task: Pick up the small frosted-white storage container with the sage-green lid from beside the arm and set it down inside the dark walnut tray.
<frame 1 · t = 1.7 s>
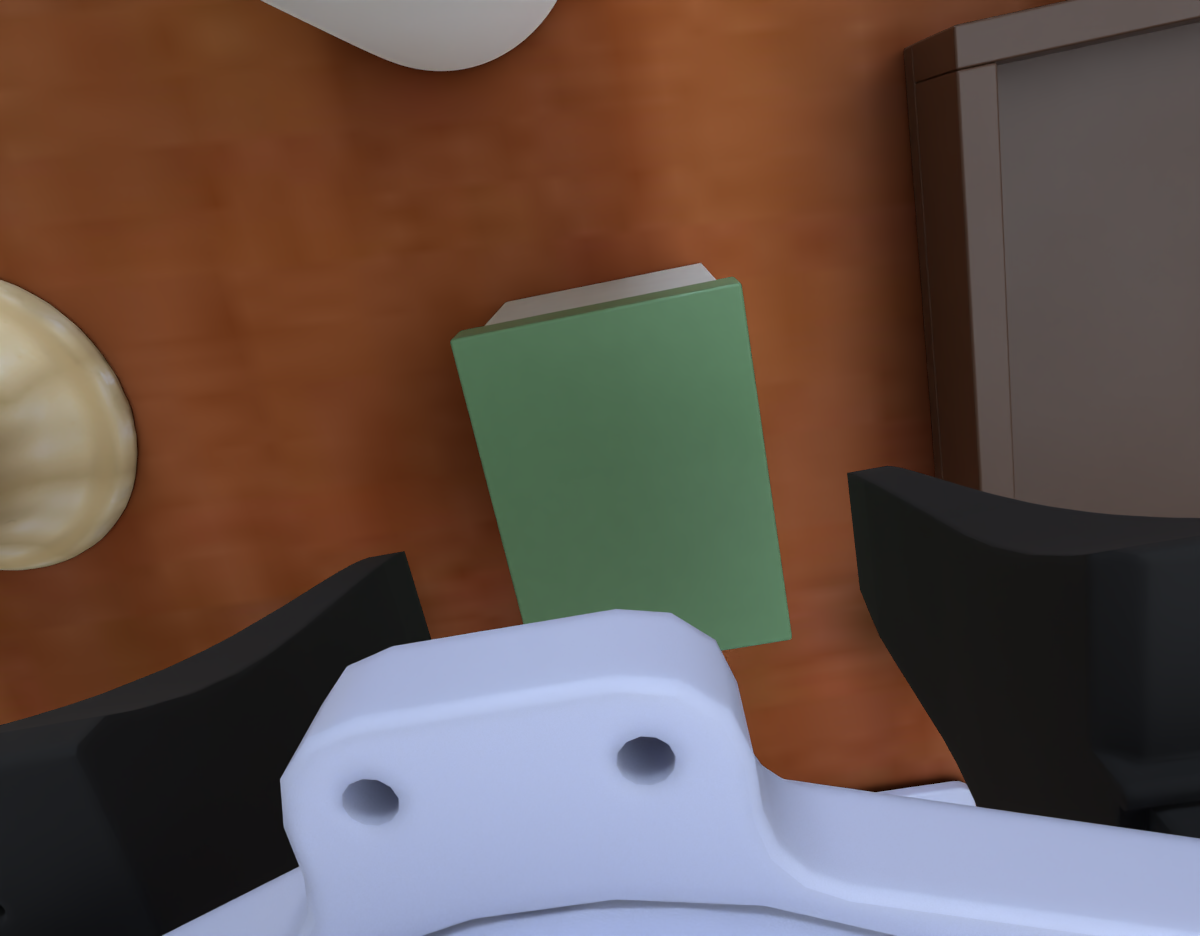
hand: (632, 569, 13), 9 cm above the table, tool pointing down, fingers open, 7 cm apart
container: (628, 415, 22), on the table
tray: (1161, 355, 21), on the table
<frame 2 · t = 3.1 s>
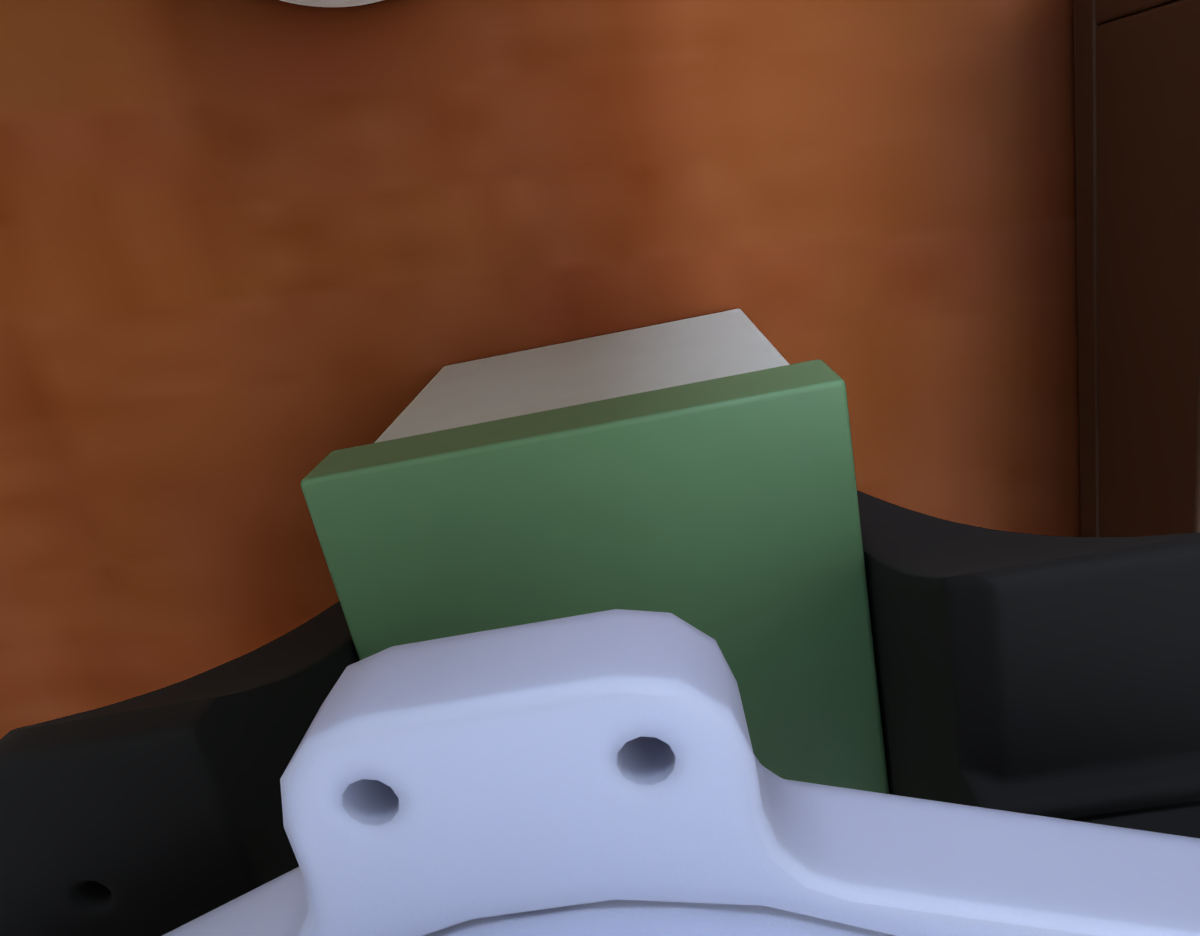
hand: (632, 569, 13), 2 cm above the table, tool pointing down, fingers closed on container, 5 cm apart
container: (628, 529, 15), on the table, touching gripper
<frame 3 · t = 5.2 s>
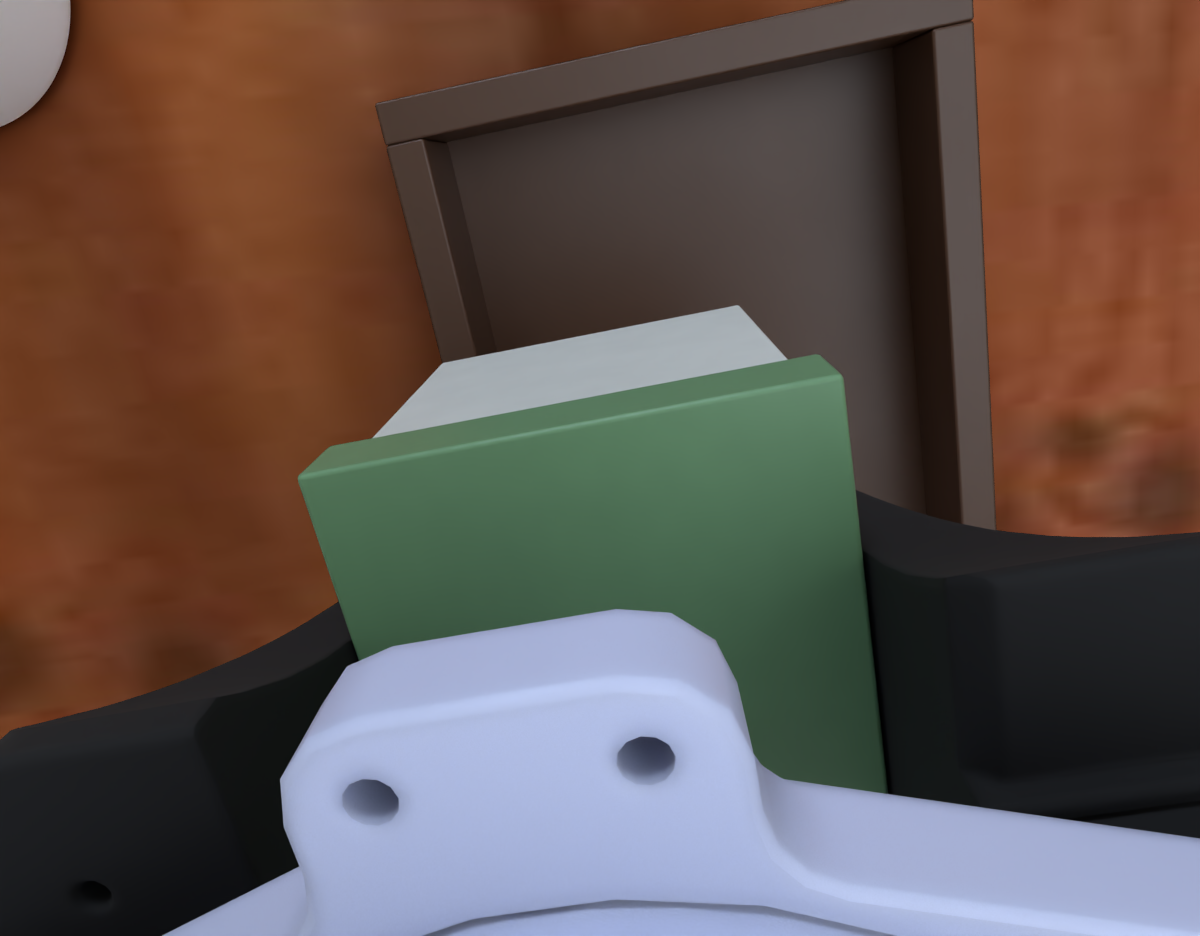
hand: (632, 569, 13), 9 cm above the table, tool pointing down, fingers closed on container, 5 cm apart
container: (627, 526, 15), point 7 cm above the table, touching gripper
tray: (712, 408, 22), on the table
when the fingers open (2 cm above the table, at t = 7.5 s): container stays where it is, resting on tray.
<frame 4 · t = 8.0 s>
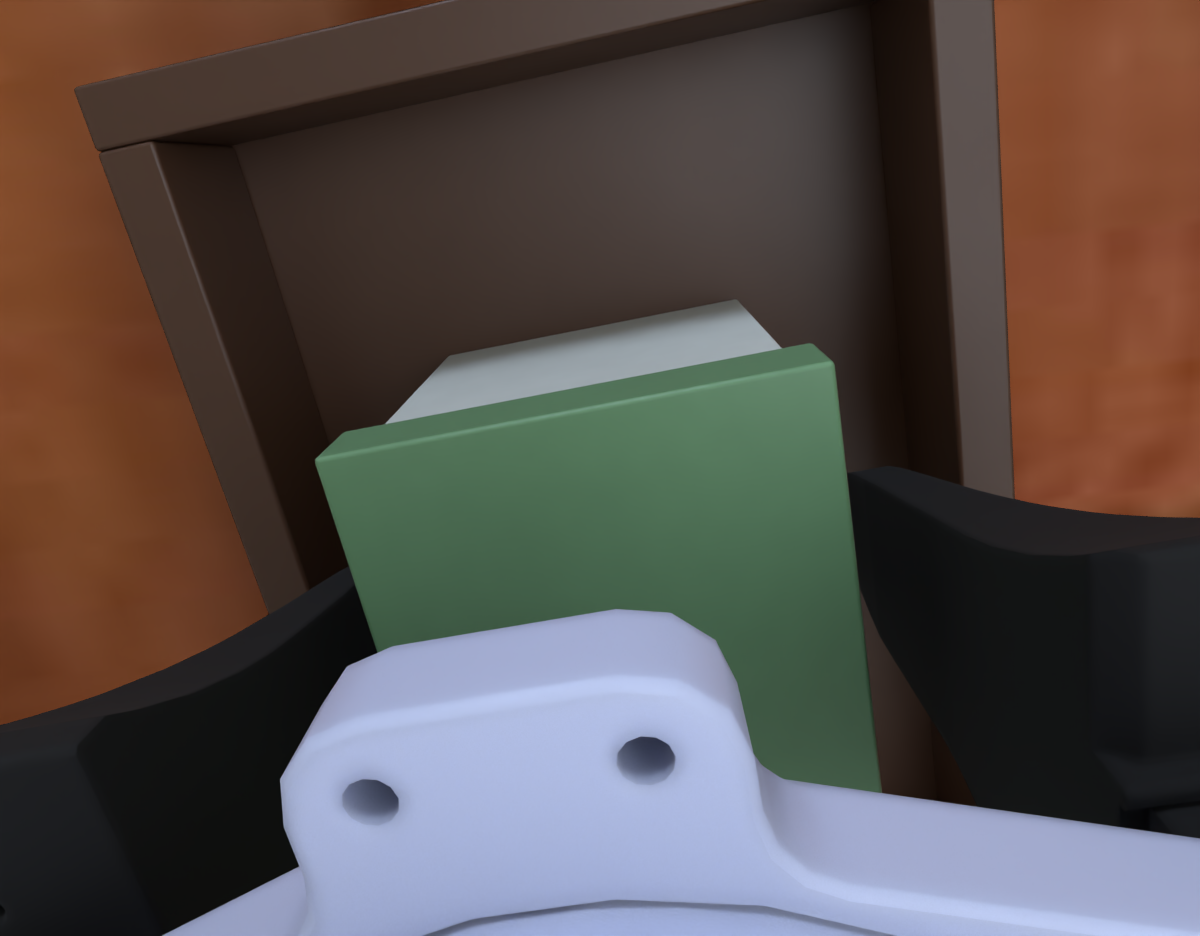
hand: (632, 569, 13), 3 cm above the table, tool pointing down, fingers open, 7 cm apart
container: (628, 515, 15), point 1 cm above the table, touching tray
tray: (630, 506, 16), on the table
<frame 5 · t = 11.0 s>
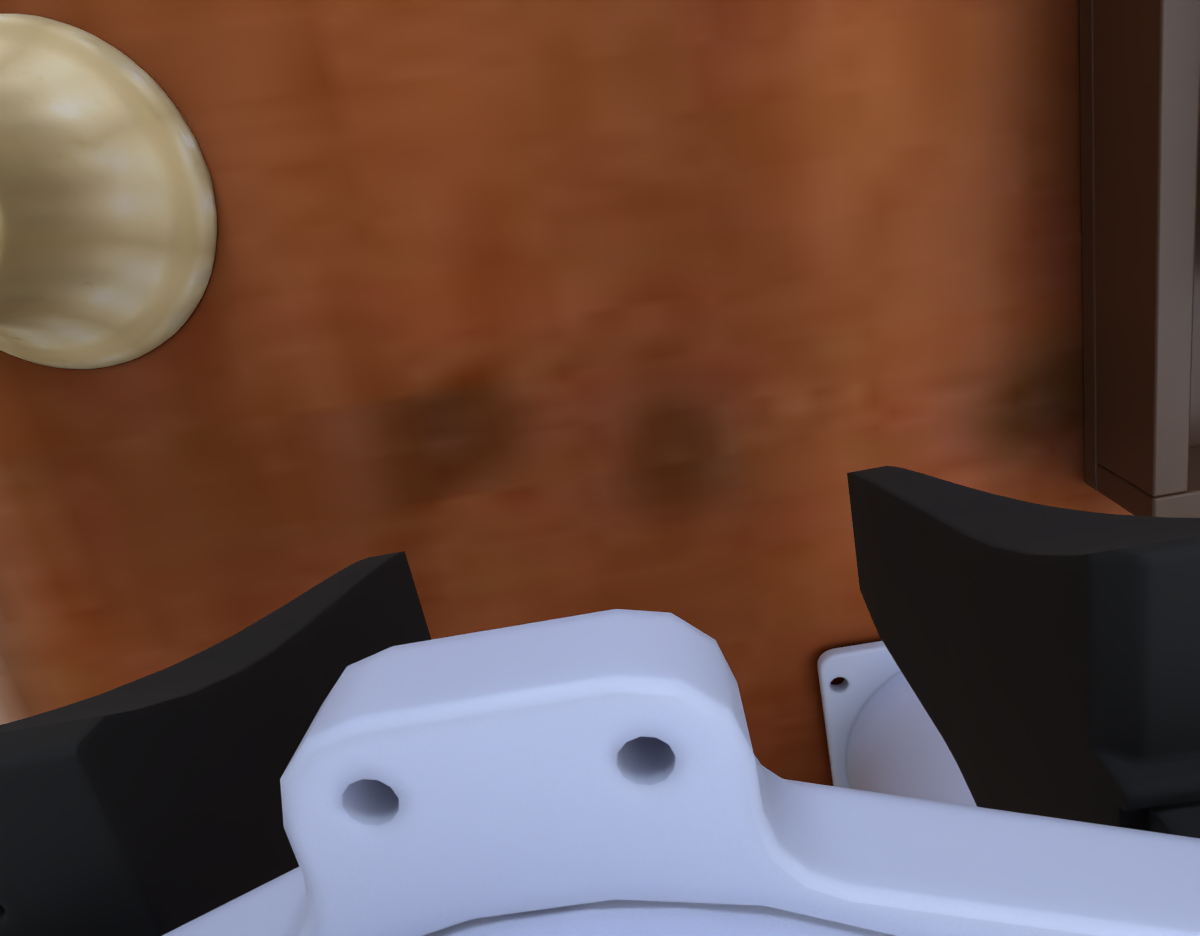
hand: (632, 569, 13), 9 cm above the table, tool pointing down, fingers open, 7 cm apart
hand bell: (56, 202, 21), on the table
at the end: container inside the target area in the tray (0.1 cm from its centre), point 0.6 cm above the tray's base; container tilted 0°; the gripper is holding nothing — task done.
